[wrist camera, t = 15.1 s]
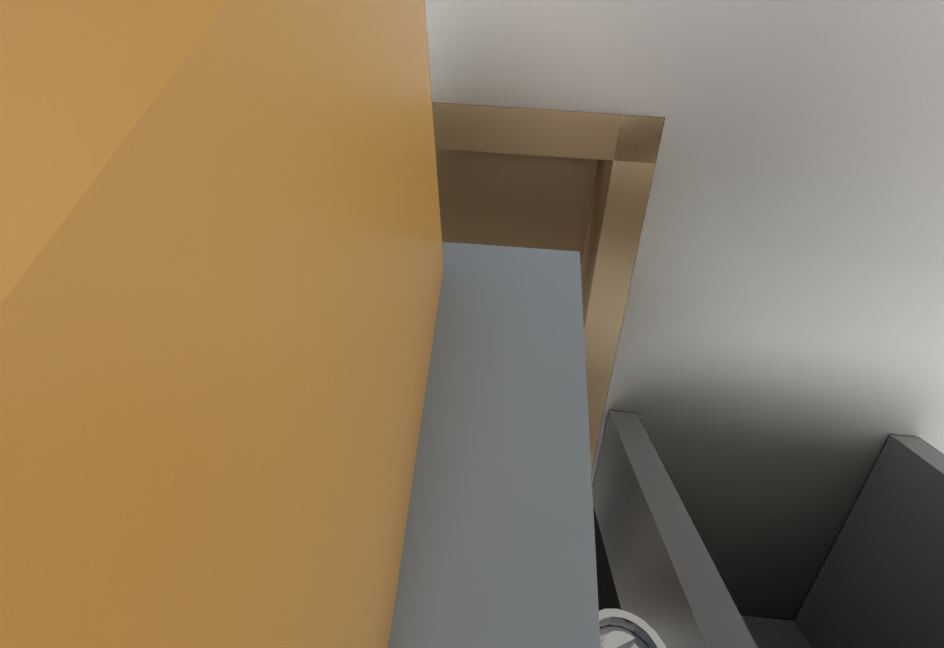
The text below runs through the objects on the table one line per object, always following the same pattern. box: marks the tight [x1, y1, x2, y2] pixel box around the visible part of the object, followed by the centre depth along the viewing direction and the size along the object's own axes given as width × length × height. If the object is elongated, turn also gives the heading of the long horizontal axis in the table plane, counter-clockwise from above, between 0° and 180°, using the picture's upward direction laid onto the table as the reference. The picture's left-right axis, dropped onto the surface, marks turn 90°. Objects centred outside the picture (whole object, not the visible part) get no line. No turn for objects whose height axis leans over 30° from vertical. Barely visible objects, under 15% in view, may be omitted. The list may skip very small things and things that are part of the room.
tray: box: [432, 102, 665, 470], centre depth 15 cm, size 17×11×2 cm, turn 176°
